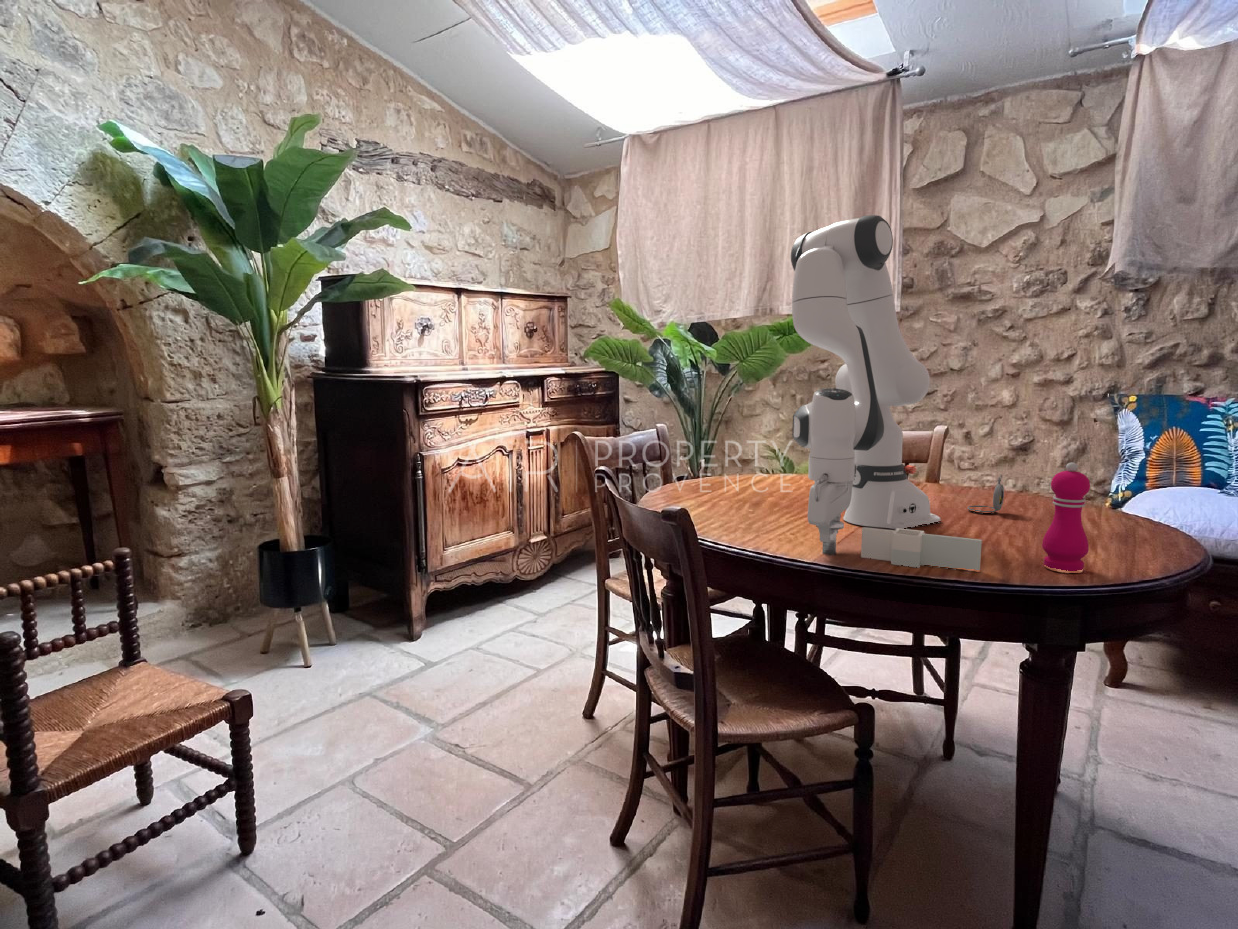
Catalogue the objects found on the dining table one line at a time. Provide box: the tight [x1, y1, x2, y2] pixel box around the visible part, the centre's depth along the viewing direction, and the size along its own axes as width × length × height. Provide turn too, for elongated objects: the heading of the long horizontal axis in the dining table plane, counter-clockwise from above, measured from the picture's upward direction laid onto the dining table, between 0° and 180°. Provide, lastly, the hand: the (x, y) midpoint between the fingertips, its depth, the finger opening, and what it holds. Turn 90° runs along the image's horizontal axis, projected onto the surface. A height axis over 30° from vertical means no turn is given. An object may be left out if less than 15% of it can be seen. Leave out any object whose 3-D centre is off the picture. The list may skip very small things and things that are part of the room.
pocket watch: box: [967, 474, 1005, 512], centre depth 175 cm, size 8×8×10 cm
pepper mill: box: [1041, 462, 1091, 571], centre depth 128 cm, size 7×7×20 cm
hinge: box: [860, 526, 983, 571], centre depth 133 cm, size 21×5×6 cm, turn 59°
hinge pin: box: [815, 520, 845, 556], centre depth 142 cm, size 5×5×6 cm
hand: (828, 537), depth 142 cm, fingers open, 5 cm apart
